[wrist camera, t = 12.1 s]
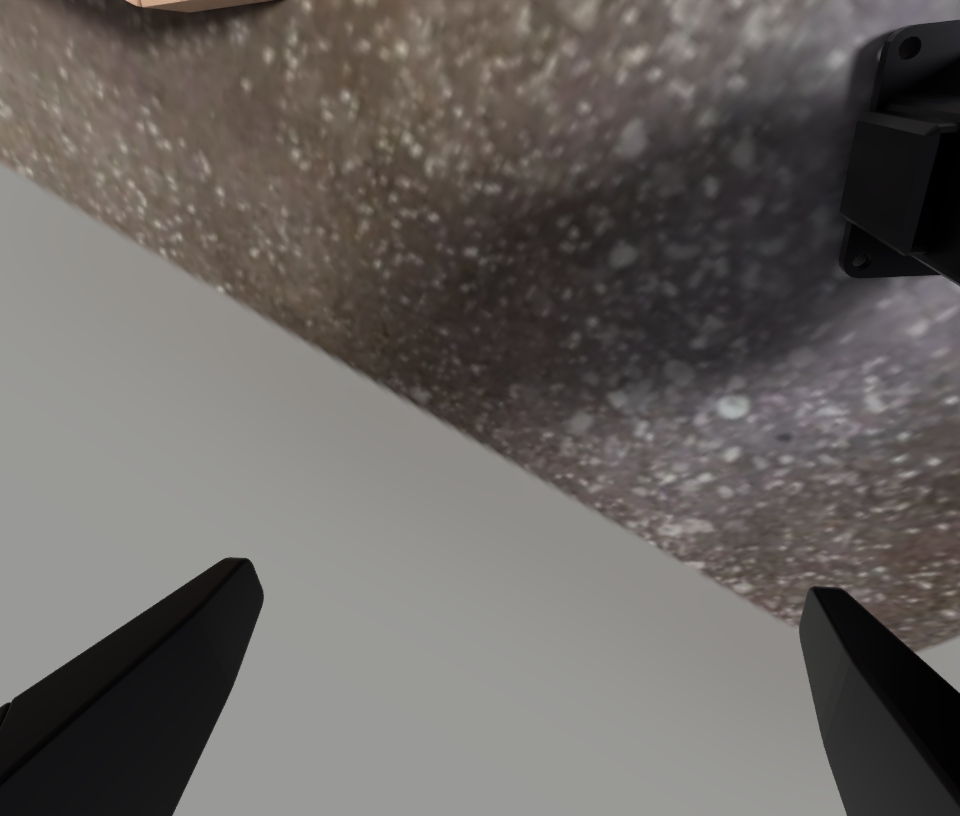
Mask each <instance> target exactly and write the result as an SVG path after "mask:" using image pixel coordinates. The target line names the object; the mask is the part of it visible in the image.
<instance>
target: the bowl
mask: <svg viewBox="0 0 960 816" xmlns="http://www.w3.org/2000/svg"><path fill="white" fill-rule="evenodd" d="M126 1H128V2H130V3H132V4H134V5H136V6H140V7H145V8H154V9H163V10H171V11H180V12H189V13H191V12H197V11H204V10H211V9H218V8H225V7H232V6H238V5H245V4H252V3H259V2H266V1H273V0H126Z"/></svg>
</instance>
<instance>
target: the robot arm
mask: <svg viewBox="0 0 960 816" xmlns="http://www.w3.org/2000/svg"><path fill="white" fill-rule="evenodd" d="M909 37H910V38H912V40H913V41H914V49H913V51H912V53H911V54H910V55H909V56H908V57H907V58H905V59H902V58H901V57H900V56H899V47H900V45H901V43H902V42H903V41H904V40H905V39H906V38H909ZM840 213H841V214H842V215H843V216H844V217H845V218H846V220H847V223H846V228H845V232H844V237H843V242H842V247H841V252H840V257H839V266H840V267H841V269H842V270H843V271H844V272H845V273H846V274H848V275H849V276H851V277H854V278H875V277H900V276H925V275H942V276H944V277H946V278H947V279H949V280H950V281H952V282H954V283H955V284H957V285H958V286H960V20H954V21H945V22H936V23H927V24H918V25H909V26H905V27H902V28H899V29H898V30H896V31H895V32H893V33H892V34H891V35H890V36H889V37H888V39H887V40H886V41H885V43H884V46H883V48H882V51H881V56H880V61H879V66H878V71H877V76H876V80H875V85H874V90H873V95H872V100H871V105H870V110H869V111H868V112H866V113H865V114H864V115H863V116H862V117H861V118H860V119H859V120H858V122H857V125H856V130H855V135H854V140H853V145H852V150H851V155H850V161H849V166H848V171H847V176H846V181H845V186H844V191H843V196H842V201H841V206H840ZM863 253H865V254H866V260H865V261H864V263H862V264H861V265H859V266H853V260H854V259H855V257H857V256H858V255H860V254H863ZM263 599H264V594H263V589H262V586H261V584H260V581H259V579H258V576H257V574H256V571H255V568H254V566H253V564H252V562H251V561H250V560H249V559H247V558H232V557H230V558H225V559H223V560H221V561H220V562H218V563H217V564H215V565H214V566H212V567H210V568H209V569H207V570H206V571H205V572H203V573H202V574H200V575H199V576H197V577H196V578H194V579H192V580H191V581H189V582H188V583H186V584H185V585H184V586H182V587H181V588H179V589H177V590H176V591H174V592H173V593H171V594H170V595H168V596H167V597H166V598H164V599H162V600H161V601H159V602H158V603H156V604H155V605H153V606H152V607H150V608H149V609H147V610H146V611H144V612H143V613H141V614H140V615H139V616H137V617H135V618H134V619H132V620H131V621H130V622H128V623H127V624H125V625H124V626H122V627H120V628H119V629H117V630H116V631H114V632H113V633H111V634H110V635H108V636H107V637H105V638H104V639H102V640H101V641H99V642H98V643H96V644H95V645H93V646H92V647H90V648H89V649H87V650H86V651H84V652H83V653H81V654H80V655H78V656H77V657H75V658H74V659H72V660H71V661H69V662H68V663H66V664H65V665H63V666H62V667H60V668H59V669H57V670H56V671H54V672H53V673H51V674H50V675H48V676H47V677H45V678H44V679H42V680H41V681H39V682H38V683H36V684H35V685H33V686H32V687H30V688H29V689H27V690H26V691H24V692H23V693H21V694H20V695H18V696H17V697H15V698H14V699H13V700H12V702H11V703H10V702H9V703H6V704H4V705H3V706H1V707H0V816H172V815H173V813H174V811H175V809H176V807H177V805H178V803H179V800H180V798H181V796H182V794H183V792H184V790H185V788H186V786H187V784H188V781H189V779H190V777H191V775H192V773H193V771H194V769H195V767H196V764H197V762H198V760H199V758H200V756H201V754H202V752H203V749H204V748H205V745H206V743H207V741H208V739H209V737H210V735H211V733H212V731H213V728H214V726H215V724H216V722H217V720H218V718H219V716H220V714H221V712H222V709H223V707H224V705H225V703H226V701H227V699H228V696H229V694H230V692H231V690H232V687H233V685H234V682H235V680H236V677H237V675H238V672H239V669H240V666H241V664H242V661H243V658H244V655H245V652H246V650H247V647H248V644H249V641H250V638H251V636H252V633H253V630H254V627H255V624H256V622H257V619H258V616H259V613H260V611H261V608H262V605H263ZM799 635H800V642H801V646H802V651H803V656H804V660H805V664H806V668H807V673H808V678H809V683H810V687H811V692H812V696H813V701H814V705H815V710H816V714H817V719H818V723H819V728H820V732H821V736H822V740H823V744H824V748H825V751H826V754H827V757H828V761H829V764H830V767H831V770H832V773H833V776H834V779H835V781H836V784H837V787H838V790H839V793H840V796H841V799H842V802H843V805H844V808H845V811H846V814H847V816H960V693H959V692H958V691H957V690H956V689H954V688H953V687H952V686H951V685H950V684H949V683H948V682H947V681H946V680H944V679H943V678H942V677H941V676H940V675H939V674H938V673H937V672H935V671H934V670H933V669H932V668H931V667H930V666H929V665H928V664H927V663H925V662H924V661H923V660H922V659H921V658H920V657H919V656H918V655H916V654H915V653H914V652H913V651H912V650H911V649H910V648H909V647H908V646H906V645H905V644H904V643H903V642H902V641H901V640H900V639H899V638H897V637H896V636H895V635H894V634H893V633H892V632H891V631H890V630H889V629H887V628H886V627H885V626H884V625H883V624H882V623H881V622H880V621H878V620H877V619H876V618H875V617H874V616H873V615H872V614H871V613H870V612H868V611H867V610H866V609H865V608H864V607H863V606H862V605H861V604H859V603H858V602H857V601H856V600H855V599H854V598H853V597H852V596H851V595H849V594H848V593H847V592H846V591H845V590H843V589H841V588H838V587H820V586H814V587H811V588H810V589H809V590H808V592H807V596H806V600H805V604H804V608H803V612H802V616H801V620H800V625H799Z"/></svg>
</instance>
